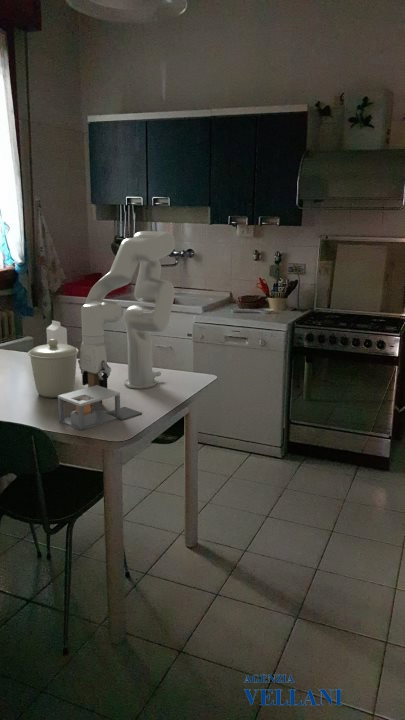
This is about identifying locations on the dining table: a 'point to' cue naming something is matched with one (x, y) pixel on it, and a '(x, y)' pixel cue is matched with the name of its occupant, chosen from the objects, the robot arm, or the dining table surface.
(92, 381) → the brown wooden bar
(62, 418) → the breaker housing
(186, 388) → the dining table surface
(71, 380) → the canister
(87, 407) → the breaker button
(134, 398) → the dining table surface
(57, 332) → the milk
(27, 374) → the dining table surface
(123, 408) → the pad
